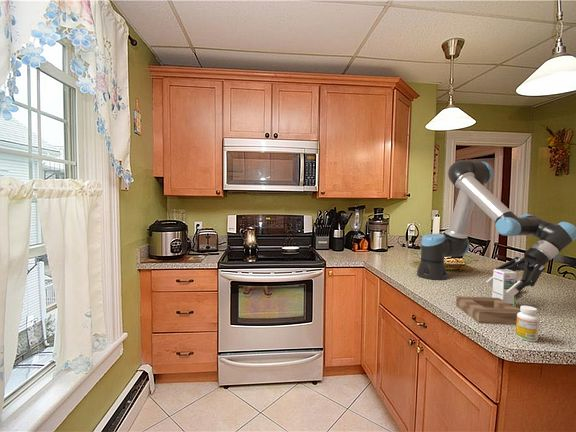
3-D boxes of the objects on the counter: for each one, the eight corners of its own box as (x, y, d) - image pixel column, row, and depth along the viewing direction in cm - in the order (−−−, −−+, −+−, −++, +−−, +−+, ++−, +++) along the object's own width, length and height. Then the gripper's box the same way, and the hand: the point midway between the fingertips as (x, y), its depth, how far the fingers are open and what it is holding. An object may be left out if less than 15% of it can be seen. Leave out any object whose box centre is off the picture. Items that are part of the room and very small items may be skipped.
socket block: (456, 305, 118) (456, 296, 118) (497, 307, 117) (498, 297, 116) (478, 322, 102) (479, 311, 102) (526, 324, 101) (527, 313, 100)
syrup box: (501, 307, 116) (504, 272, 115) (491, 302, 122) (493, 268, 121) (515, 307, 116) (518, 272, 115) (504, 302, 122) (506, 268, 121)
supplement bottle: (522, 332, 95) (523, 303, 94) (541, 340, 90) (543, 309, 89) (511, 335, 93) (513, 305, 92) (531, 343, 88) (533, 312, 87)
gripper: (512, 242, 129) (475, 274, 131) (559, 252, 105) (512, 292, 107) (524, 254, 129) (486, 286, 131) (574, 267, 105) (526, 307, 107)
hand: (498, 289), depth 119 cm, fingers open, 12 cm apart
